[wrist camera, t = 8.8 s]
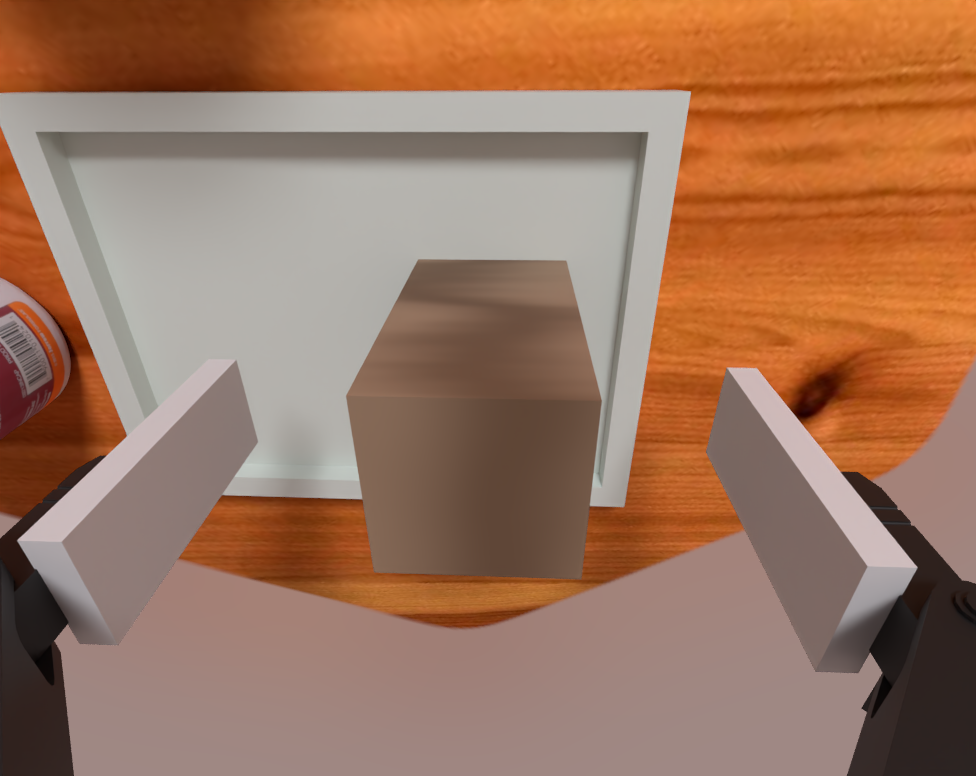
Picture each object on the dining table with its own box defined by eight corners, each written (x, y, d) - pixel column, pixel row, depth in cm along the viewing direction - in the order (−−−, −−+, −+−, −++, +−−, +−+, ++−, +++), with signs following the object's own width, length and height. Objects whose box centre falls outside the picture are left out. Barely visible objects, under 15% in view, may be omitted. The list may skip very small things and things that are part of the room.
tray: (169, 470, 25) (150, 493, 23) (27, 91, 17) (-13, 93, 16) (618, 483, 24) (624, 507, 22) (676, 90, 16) (691, 91, 15)
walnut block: (427, 386, 21) (374, 572, 13) (418, 259, 19) (345, 396, 11) (557, 389, 21) (581, 579, 13) (566, 260, 18) (602, 400, 11)
